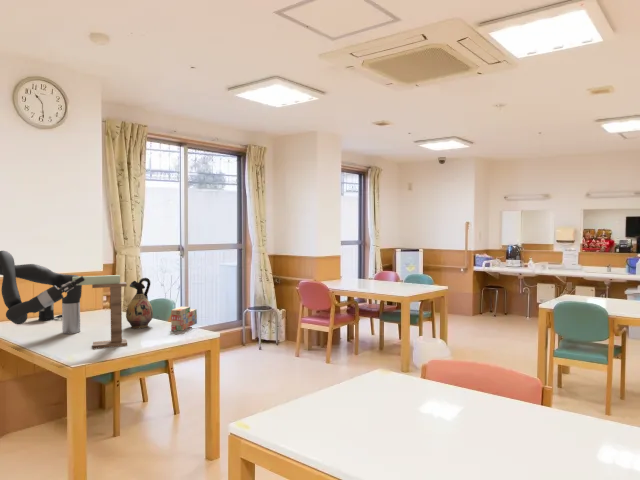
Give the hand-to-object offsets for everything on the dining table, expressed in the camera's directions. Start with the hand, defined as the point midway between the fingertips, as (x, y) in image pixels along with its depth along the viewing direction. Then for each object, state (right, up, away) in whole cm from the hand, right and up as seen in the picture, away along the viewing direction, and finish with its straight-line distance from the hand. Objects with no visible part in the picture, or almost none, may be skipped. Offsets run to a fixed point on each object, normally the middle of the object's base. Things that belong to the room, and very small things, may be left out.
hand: (83, 277), depth 251 cm
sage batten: (+5, -3, +3) cm, 7 cm away
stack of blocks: (+37, -34, +52) cm, 72 cm away
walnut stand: (+11, -35, +6) cm, 37 cm away
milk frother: (-56, -33, +75) cm, 99 cm away
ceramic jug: (+10, -34, +52) cm, 63 cm away
